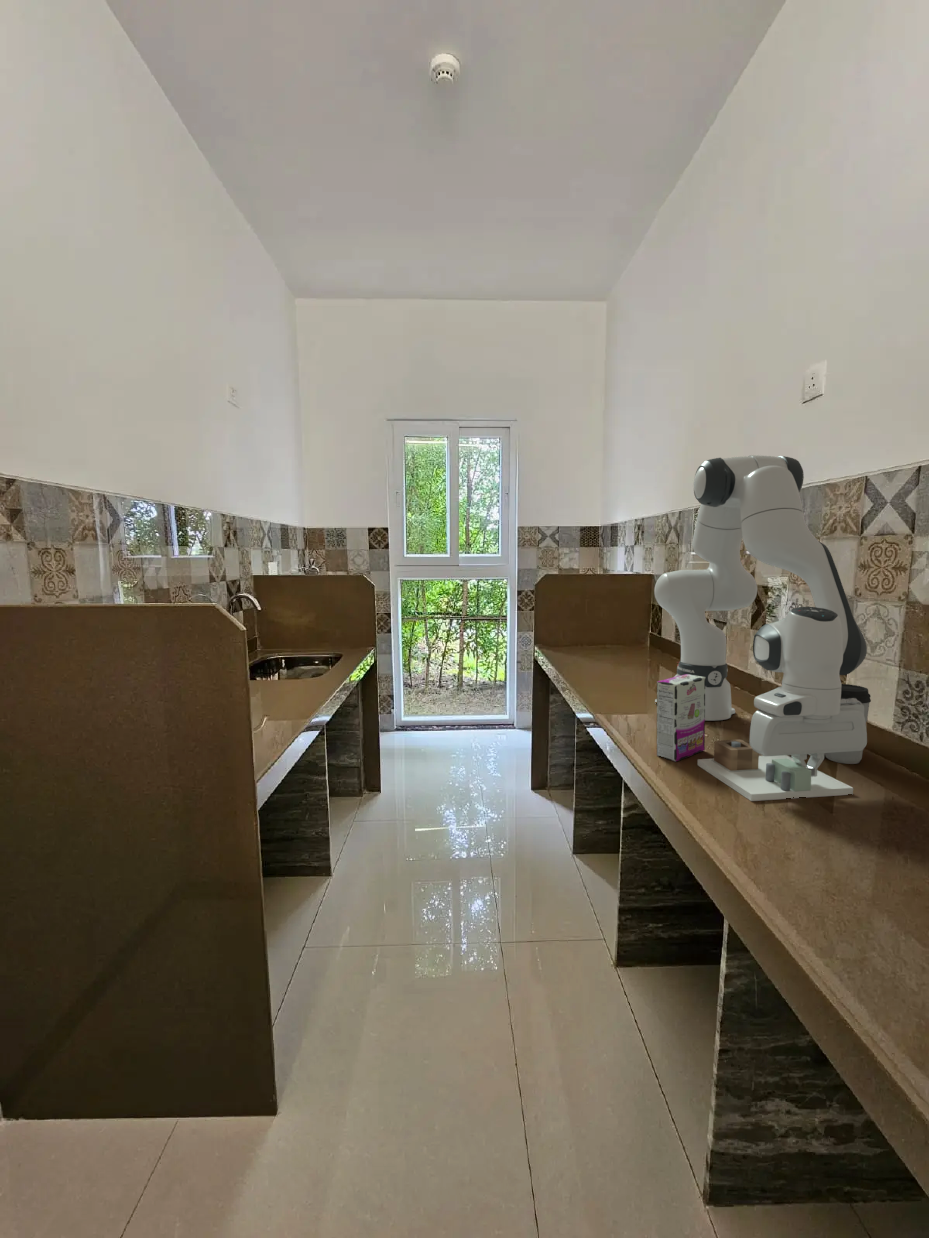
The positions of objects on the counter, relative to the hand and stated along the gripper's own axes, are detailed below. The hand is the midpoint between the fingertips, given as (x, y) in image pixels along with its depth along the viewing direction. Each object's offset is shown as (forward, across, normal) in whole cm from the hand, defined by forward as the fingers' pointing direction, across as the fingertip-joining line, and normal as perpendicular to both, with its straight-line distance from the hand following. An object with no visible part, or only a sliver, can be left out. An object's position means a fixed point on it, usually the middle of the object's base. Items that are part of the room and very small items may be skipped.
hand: (806, 776), depth 96 cm
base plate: (+2, +3, -6) cm, 7 cm away
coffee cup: (+3, -19, -13) cm, 23 cm away
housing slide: (+1, +3, 0) cm, 3 cm away
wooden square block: (+1, +7, -10) cm, 12 cm away
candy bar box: (+3, +12, -21) cm, 25 cm away
